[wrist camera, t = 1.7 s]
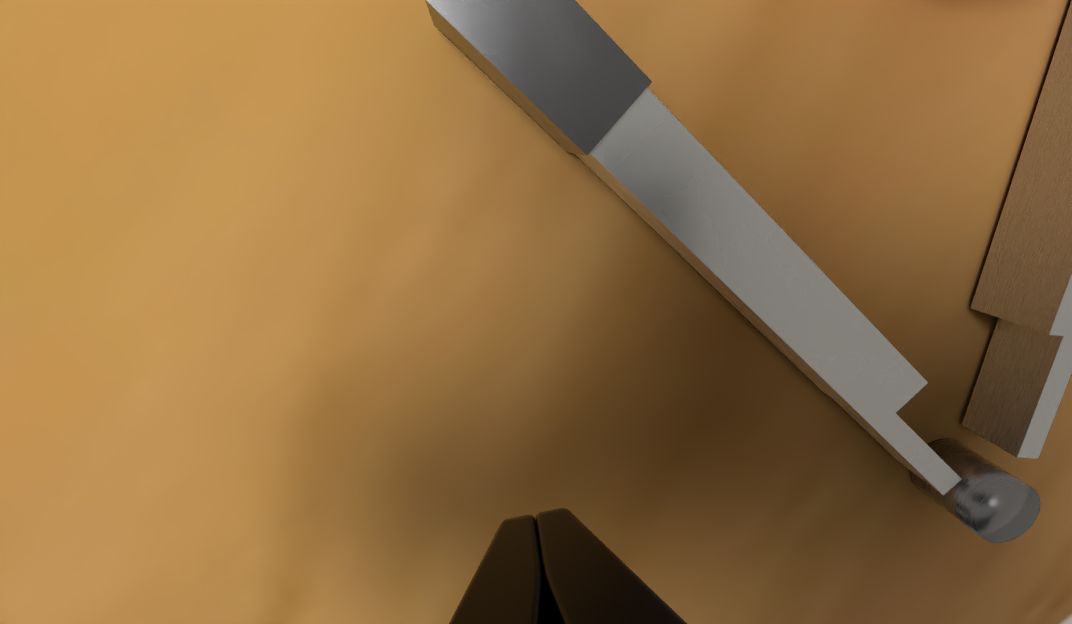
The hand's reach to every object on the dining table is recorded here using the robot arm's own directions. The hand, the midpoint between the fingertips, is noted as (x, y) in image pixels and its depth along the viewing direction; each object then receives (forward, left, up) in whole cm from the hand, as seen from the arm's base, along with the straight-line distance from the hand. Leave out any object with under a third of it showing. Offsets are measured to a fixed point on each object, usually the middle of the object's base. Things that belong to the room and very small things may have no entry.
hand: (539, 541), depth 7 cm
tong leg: (+1, -6, -9) cm, 11 cm away
